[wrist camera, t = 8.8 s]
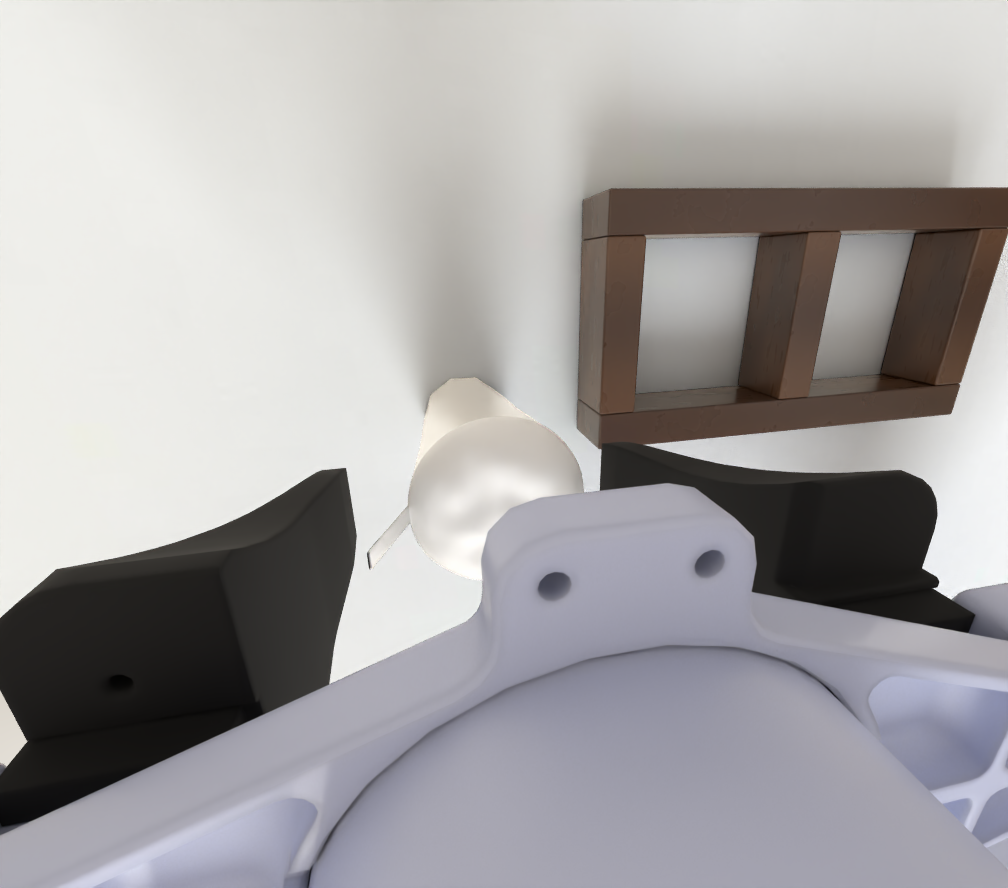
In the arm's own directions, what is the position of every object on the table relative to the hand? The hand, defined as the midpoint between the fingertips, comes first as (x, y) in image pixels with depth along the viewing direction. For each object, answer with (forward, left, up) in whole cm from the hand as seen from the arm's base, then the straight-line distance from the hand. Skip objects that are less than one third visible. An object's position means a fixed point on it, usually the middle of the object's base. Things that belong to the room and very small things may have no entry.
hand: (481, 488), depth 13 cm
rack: (+4, -13, -7) cm, 15 cm away
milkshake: (0, 0, -7) cm, 7 cm away
